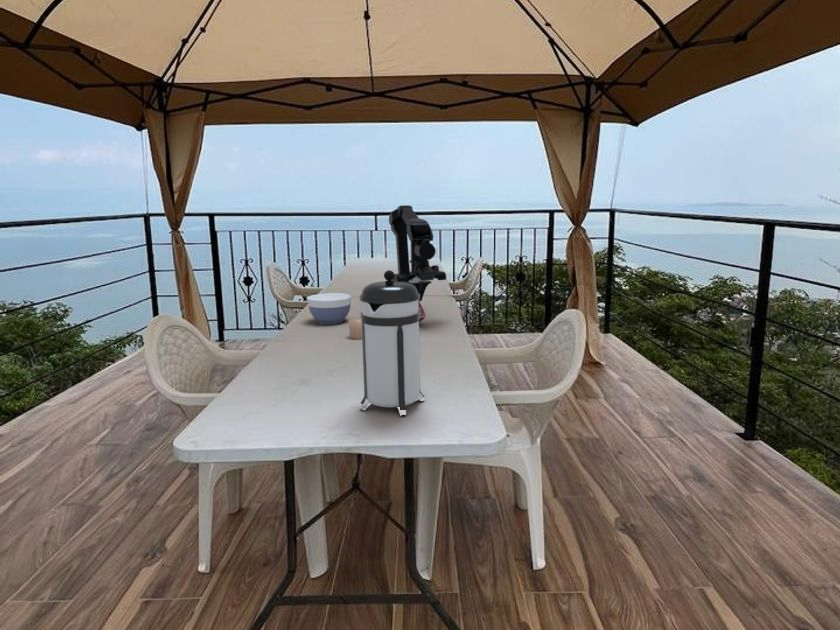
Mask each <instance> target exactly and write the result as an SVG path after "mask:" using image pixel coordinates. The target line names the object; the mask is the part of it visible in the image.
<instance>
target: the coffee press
mask: <svg viewBox="0 0 840 630" xmlns="http://www.w3.org/2000/svg"><path fill="white" fill-rule="evenodd" d="M394 274H395V273H394V271H393V270H390V269H388V270H386V271H385V272H384V274H383V277H384V279H385V280H384V281H377V282H371V283H369V284H367V285H366V286H364V287H363V289H362V291H361V294H360V295H359V300H360V302H361V312H360V318H361V322H362V339H361V342H362V365H363V366H362V367H363V371H362V372H363V398H362V400H361V401H360V403H361V404H363V405H364V404H365V402H366V400H367V402H368V403H369V402H370V403H372V405H374V406H377V407H381V408H396V407H400V410H407V408H406V407H407V406H409V405H410V404H413V403H415V402H416V401H418V400H419V397H420V395H421V397H422V396H423V397H425V395H424V393H422V392H421V379H420V377H421V376H420V373H421V372H420V371H421V370H420V323H419V320H420V314H419V310H418V301H419V299H420V294H419V293H418V292H417V289H416V287H415V286H413V285H412V284H410V283H407V282H401V281H392V280H393V279H394V276H395V275H394ZM419 302H420V301H419ZM417 399H418V400H417Z"/></svg>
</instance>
